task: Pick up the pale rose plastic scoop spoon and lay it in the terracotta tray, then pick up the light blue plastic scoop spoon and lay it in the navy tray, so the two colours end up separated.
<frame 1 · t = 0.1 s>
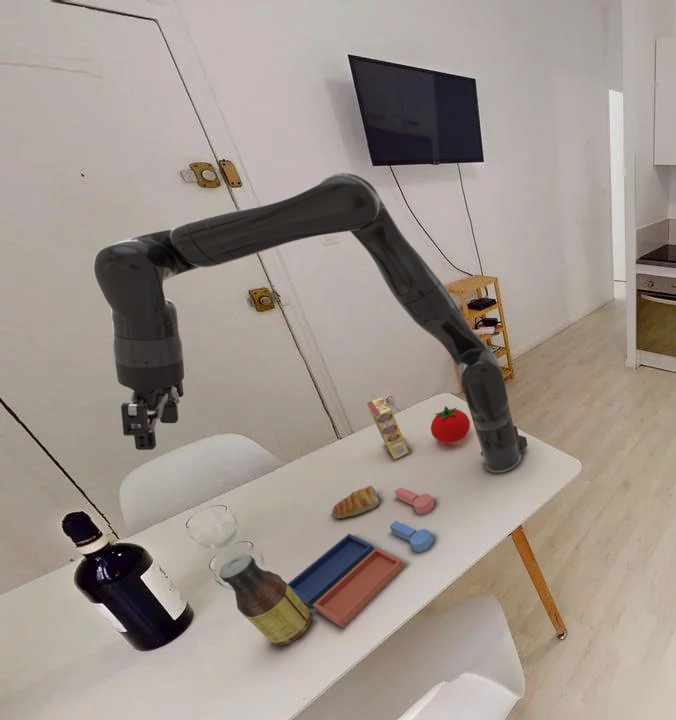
hand: (158, 434, 75), 31 cm above the table, tool tilted 20°, fingers open, 8 cm apart
rose spoon: (416, 503, 100), on the table
blue spoon: (413, 539, 91), on the table
blue tray: (334, 571, 85), on the table
rose tray: (362, 587, 81), on the table
candy box: (397, 449, 117), on the table
tomato: (454, 439, 121), on the table
pastry: (361, 506, 99), on the table
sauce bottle: (293, 630, 75), on the table
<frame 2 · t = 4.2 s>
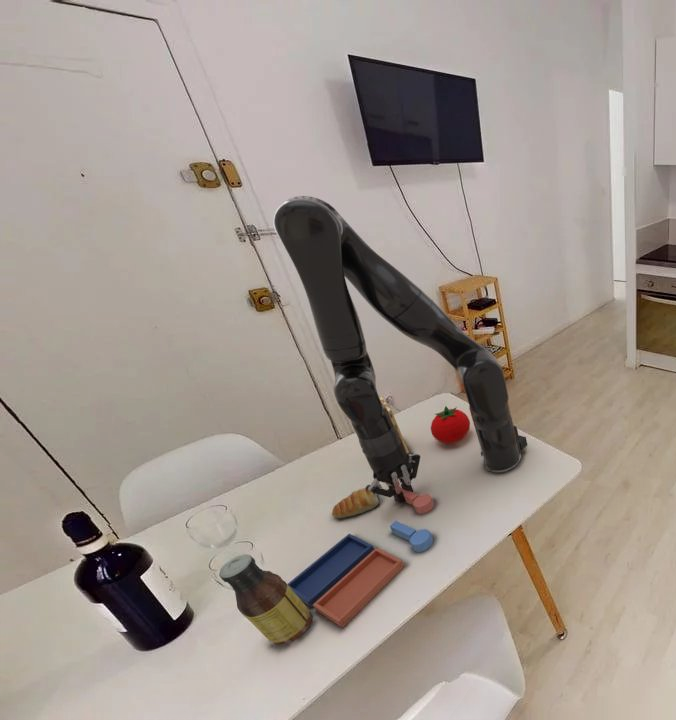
hand: (406, 498, 101), 0 cm above the table, tool pointing down, fingers closed on rose spoon
rose spoon: (416, 503, 100), on the table, touching gripper
everything else where it was.
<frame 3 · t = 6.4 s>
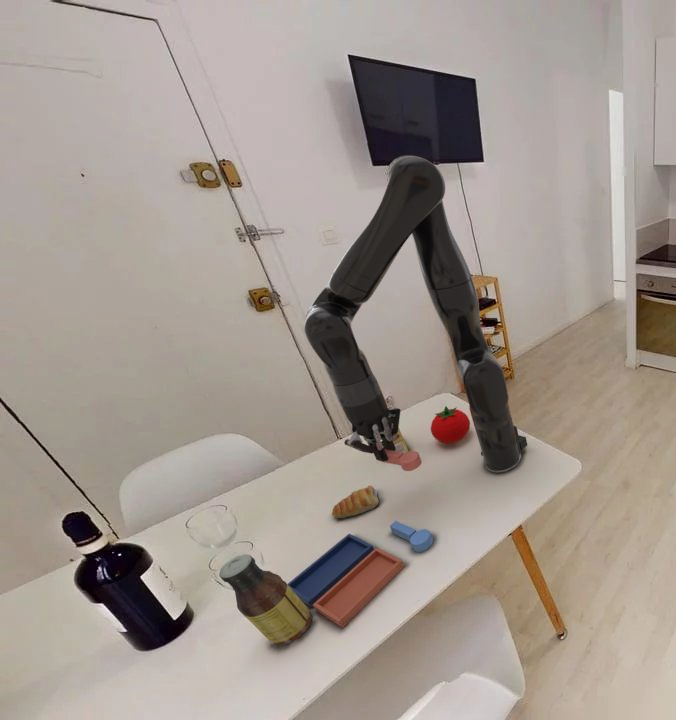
hand: (387, 456, 94), 14 cm above the table, tool pointing down, fingers closed on rose spoon
rose spoon: (401, 462, 94), point 13 cm above the table, touching gripper
everything else where it was.
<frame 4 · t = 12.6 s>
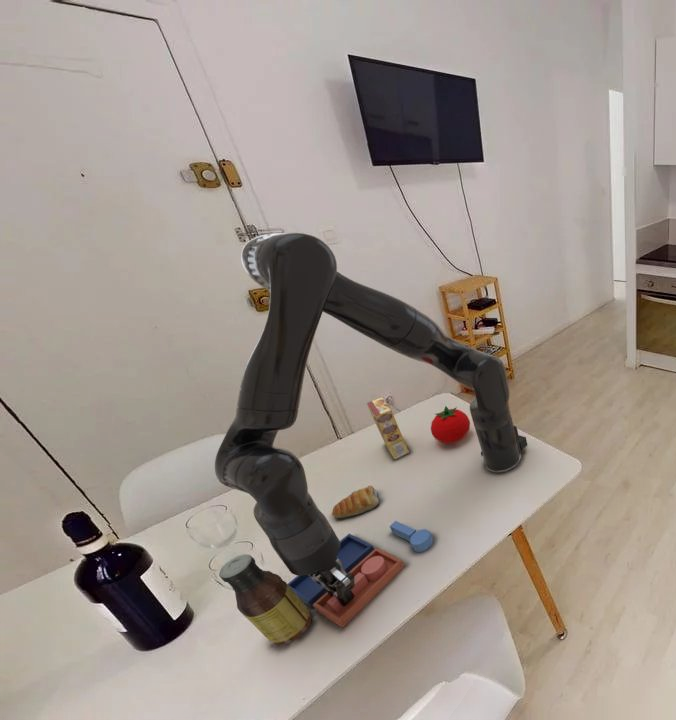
hand: (343, 598, 78), 1 cm above the table, tool pointing down, fingers closed
rose spoon: (362, 585, 81), resting on rose tray
everything else where it was.
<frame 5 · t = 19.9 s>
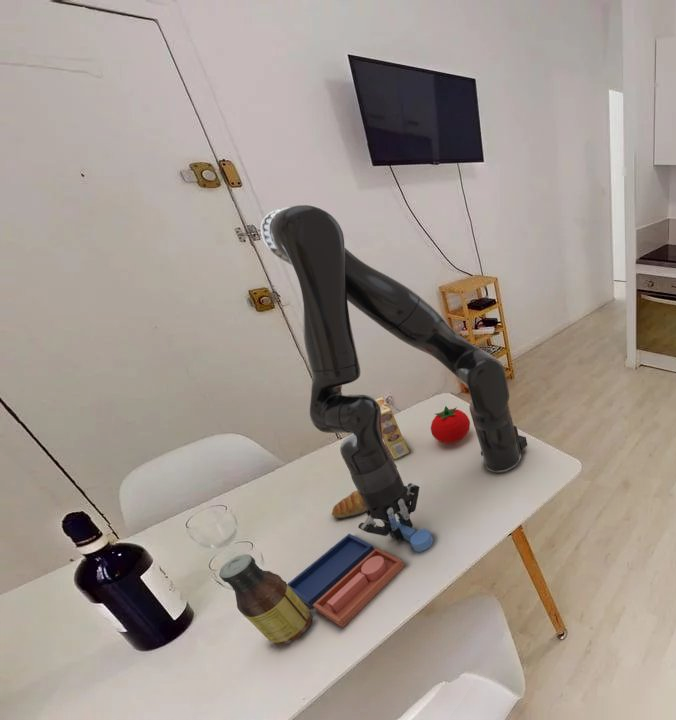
hand: (403, 534, 92), 0 cm above the table, tool pointing down, fingers closed on blue spoon
blue spoon: (413, 539, 91), on the table, touching gripper
everything else where it was.
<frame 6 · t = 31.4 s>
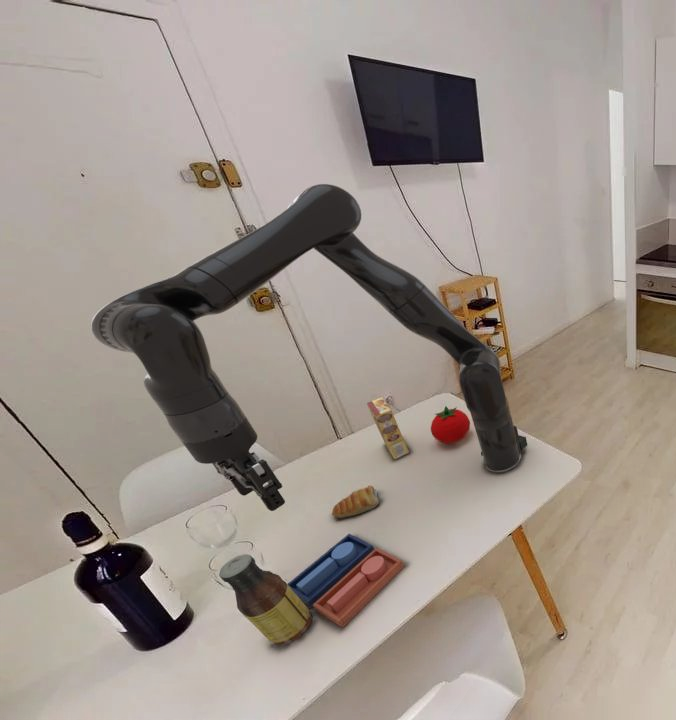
hand: (263, 499, 71), 24 cm above the table, tool pointing down, fingers open, 8 cm apart
blue spoon: (332, 569, 84), resting on blue tray
everything else where it was.
at the end: rose spoon inside the target area in the rose tray (0.2 cm from its centre), point 0.5 cm above the rose tray's base; blue spoon inside the target area in the blue tray (0.0 cm from its centre), point 0.5 cm above the blue tray's base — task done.
